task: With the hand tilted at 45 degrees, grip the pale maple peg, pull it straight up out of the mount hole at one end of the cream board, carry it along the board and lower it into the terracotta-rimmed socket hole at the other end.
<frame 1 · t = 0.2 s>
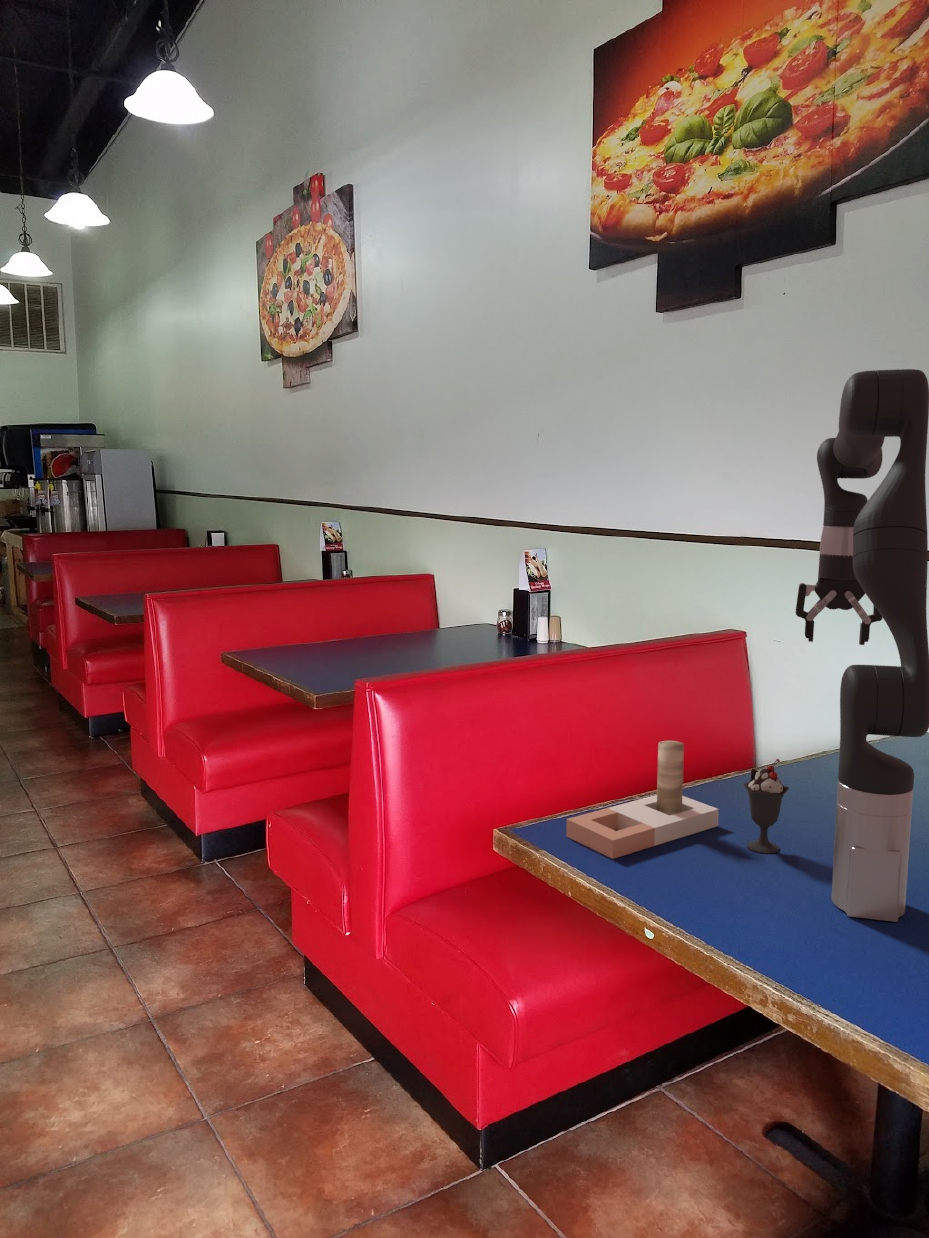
hand: (836, 642, 162), 29 cm above the table, tool pointing down, fingers open, 8 cm apart
peg: (668, 823, 154), resting in dock board
sundae: (763, 848, 143), on the table
dock board: (643, 831, 150), on the table
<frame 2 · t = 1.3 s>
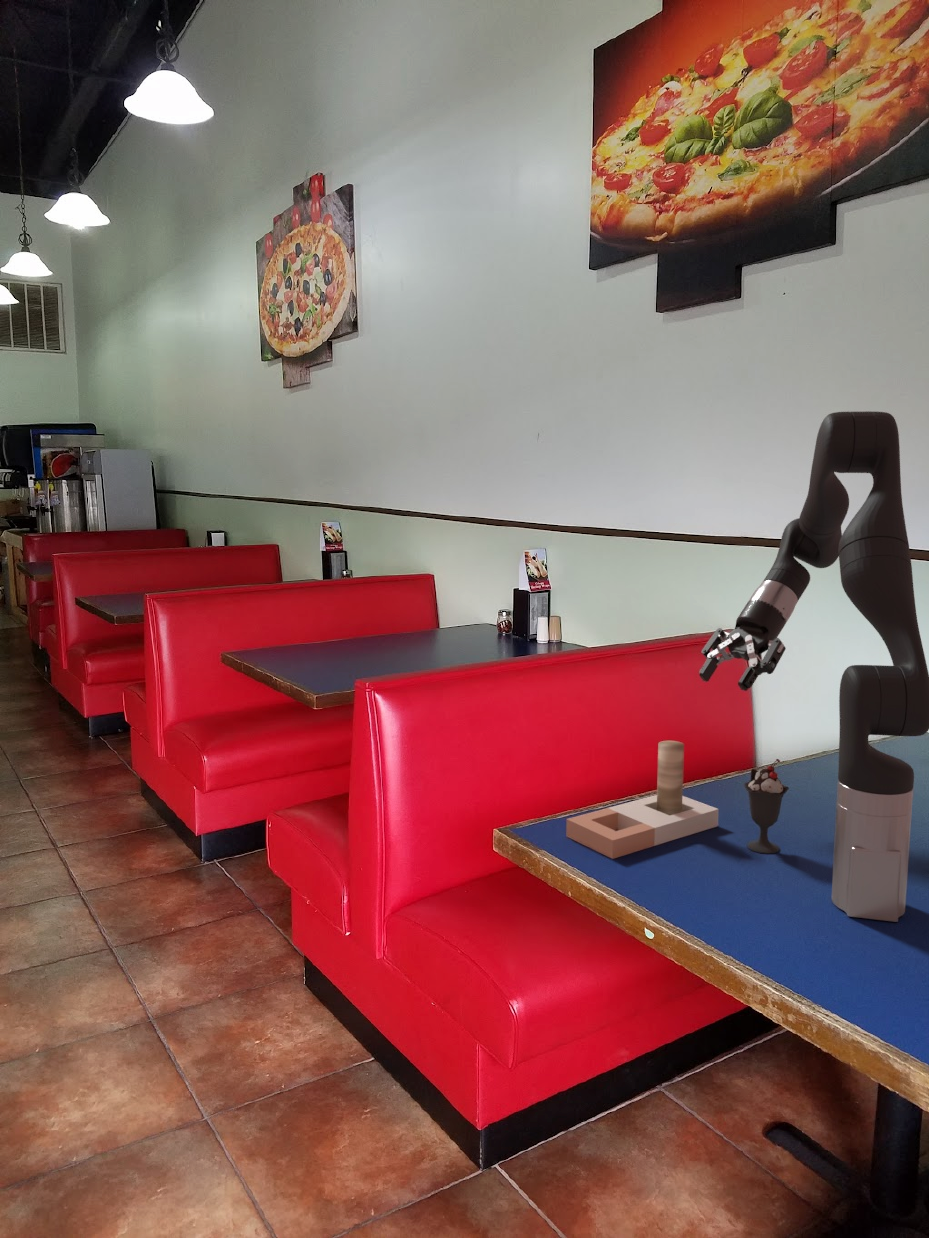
hand: (721, 683, 157), 23 cm above the table, tool tilted 45°, fingers open, 8 cm apart
nothing on the table moved.
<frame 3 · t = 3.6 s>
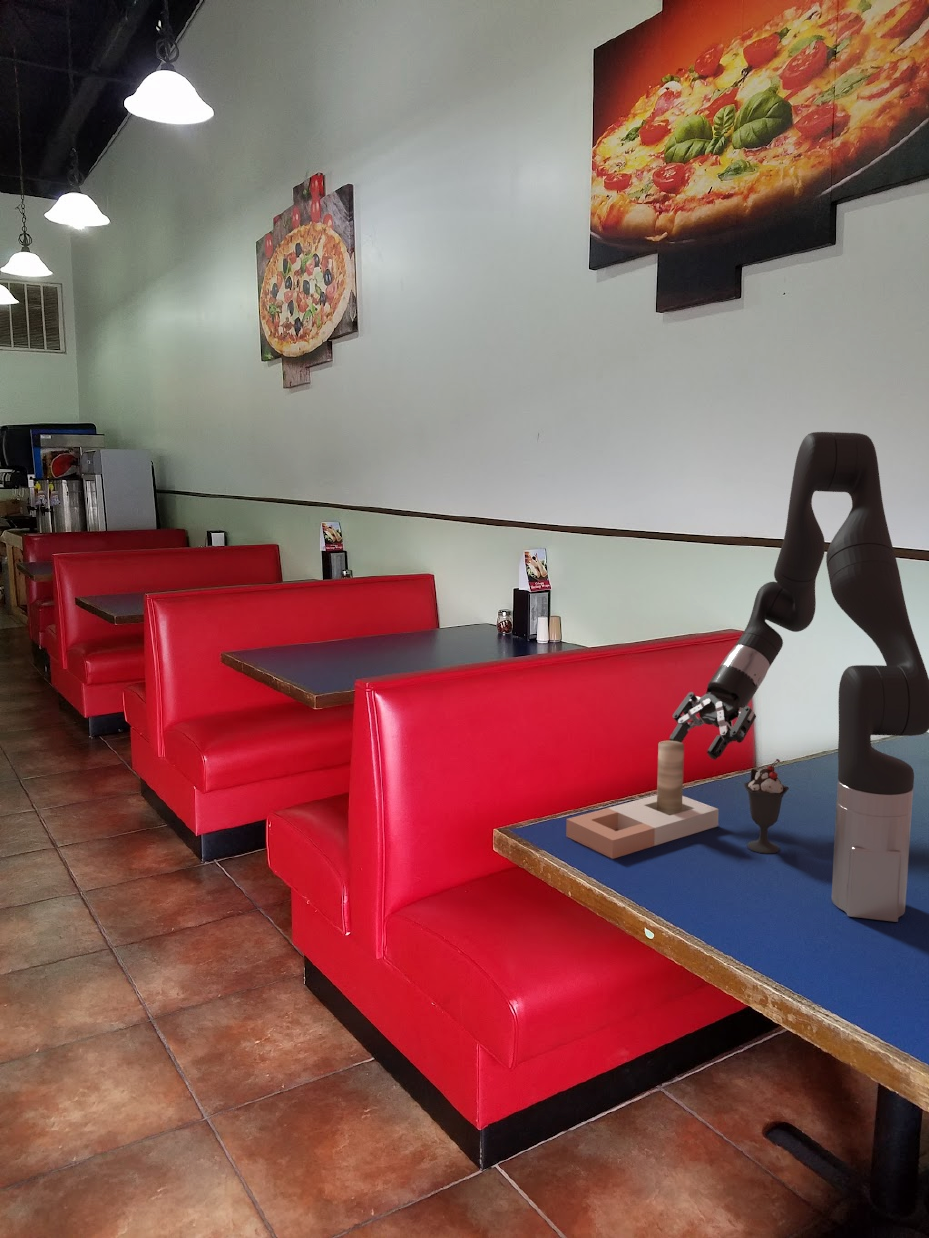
hand: (691, 750, 155), 12 cm above the table, tool tilted 45°, fingers open, 8 cm apart
nothing on the table moved.
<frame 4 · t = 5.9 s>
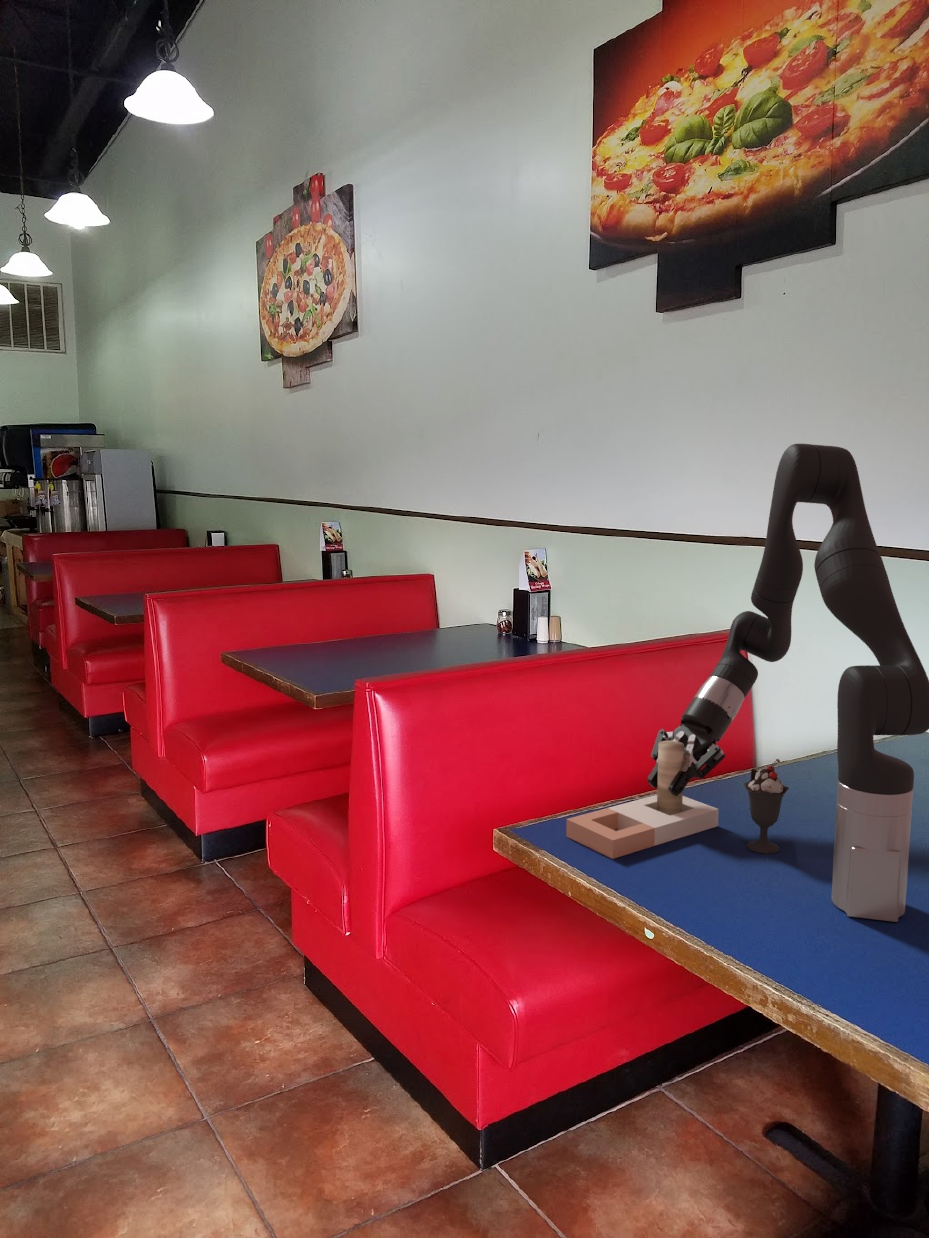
hand: (662, 788, 151), 7 cm above the table, tool tilted 45°, fingers closed on peg, 4 cm apart
peg: (669, 823, 153), resting in dock board, touching gripper
everything else where it was.
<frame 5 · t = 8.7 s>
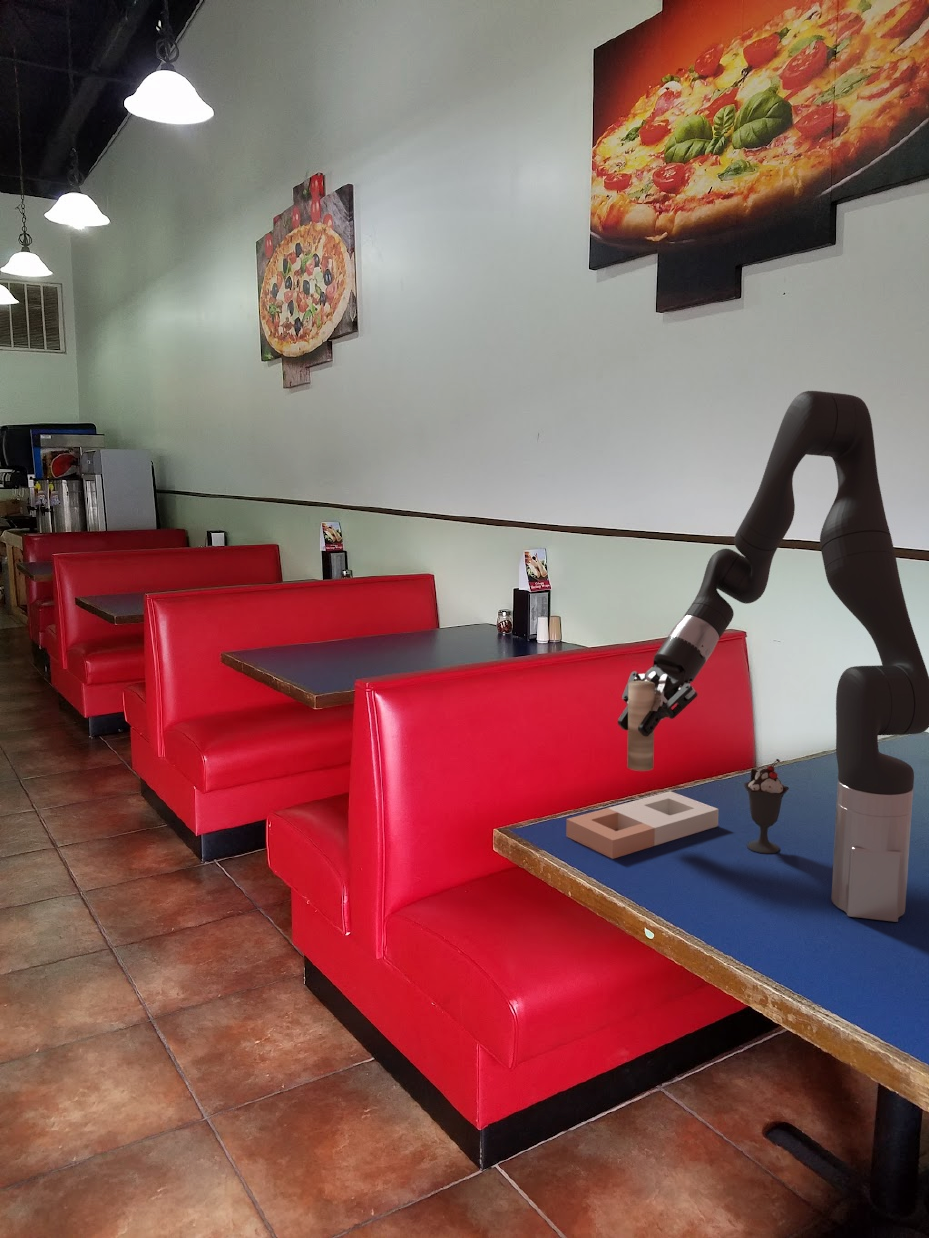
hand: (632, 729, 146), 18 cm above the table, tool tilted 45°, fingers closed on peg, 4 cm apart
peg: (640, 766, 148), point 11 cm above the table, touching gripper
everything else where it was.
when the fingers open (8 cm above the table, at t = 11.9 s): peg drops 1 cm, resting in dock board.
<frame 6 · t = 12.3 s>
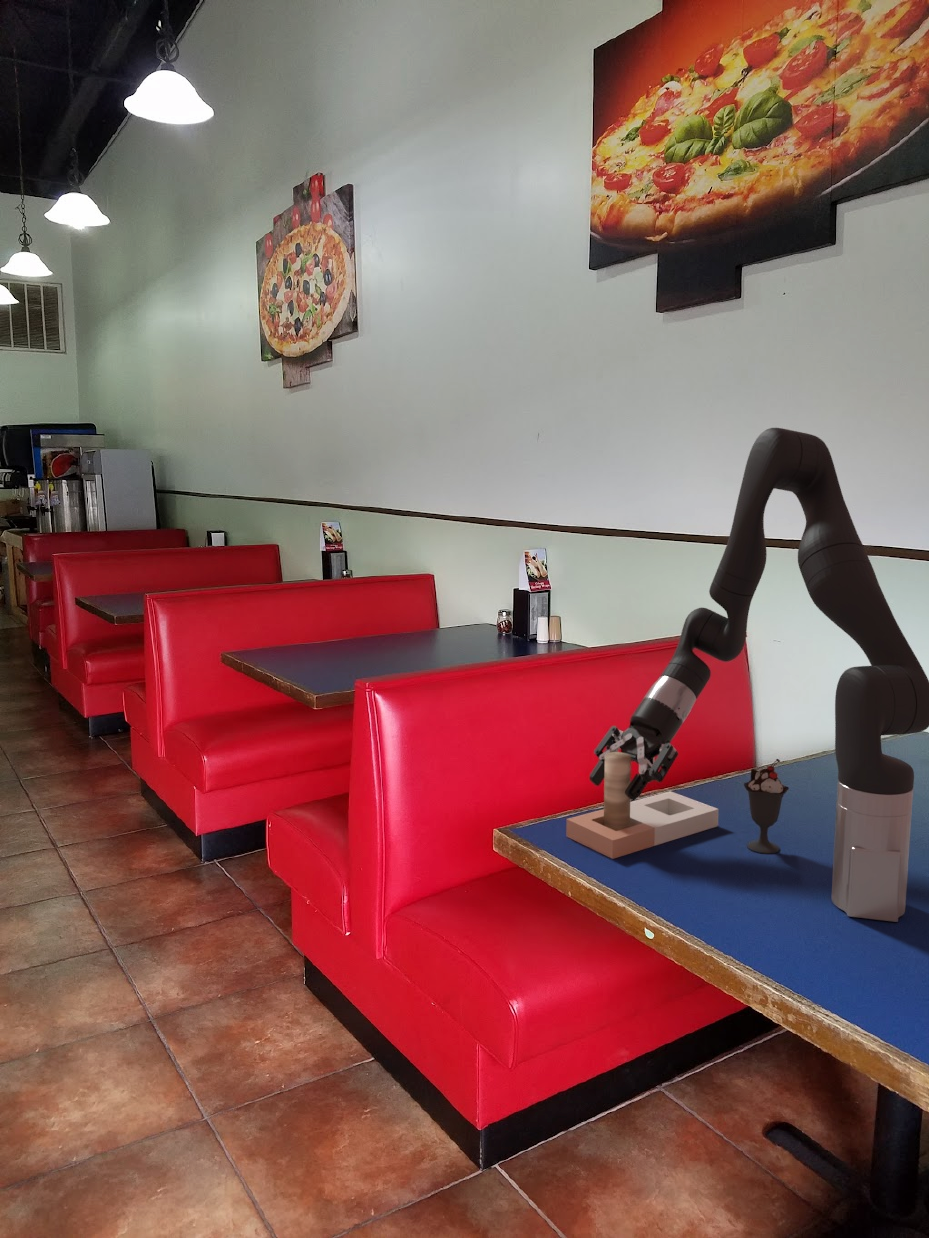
hand: (610, 789, 145), 9 cm above the table, tool tilted 45°, fingers open, 8 cm apart
peg: (616, 838, 147), resting in dock board
everything else where it was.
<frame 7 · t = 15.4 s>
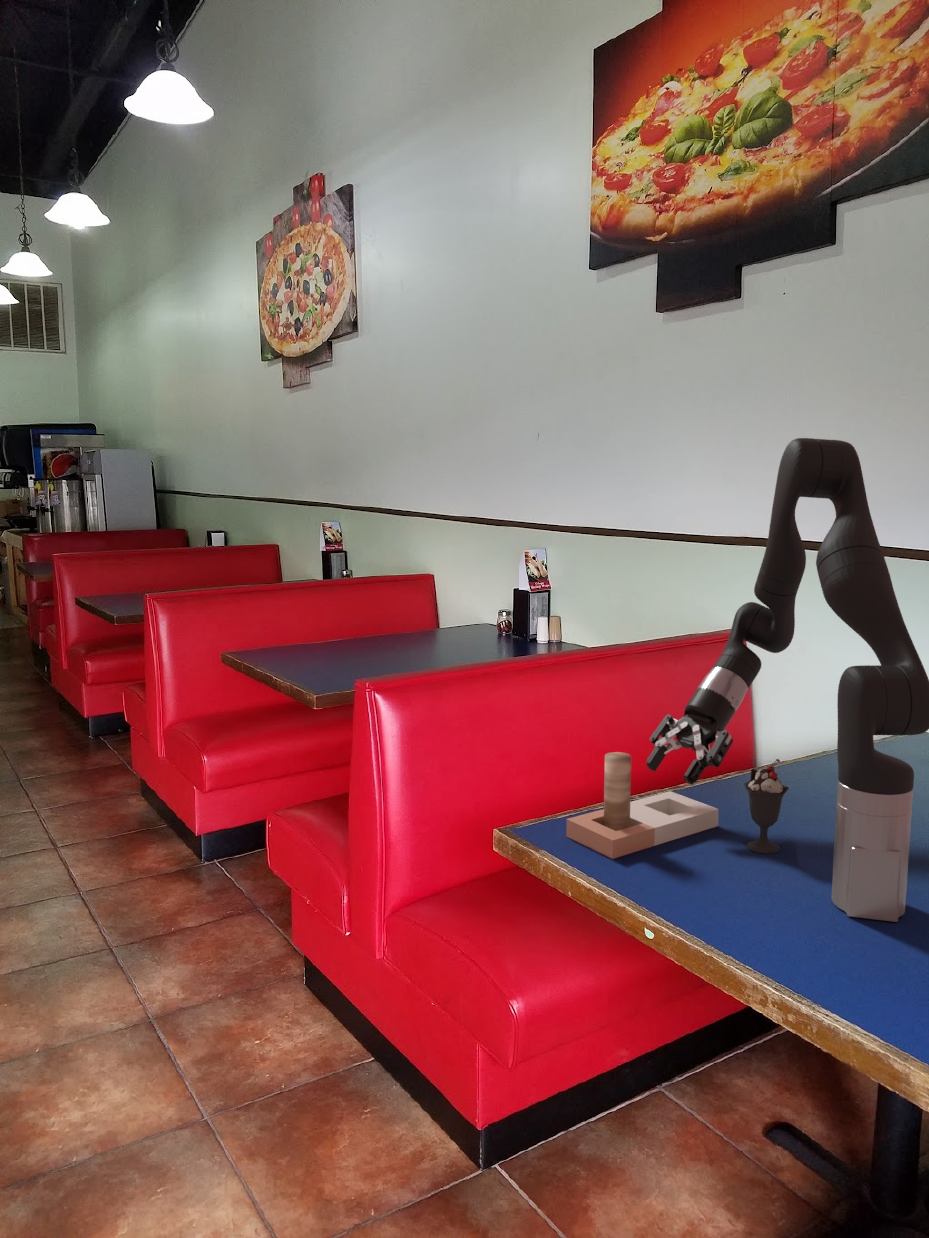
hand: (668, 774, 152), 9 cm above the table, tool tilted 45°, fingers open, 8 cm apart
nothing on the table moved.
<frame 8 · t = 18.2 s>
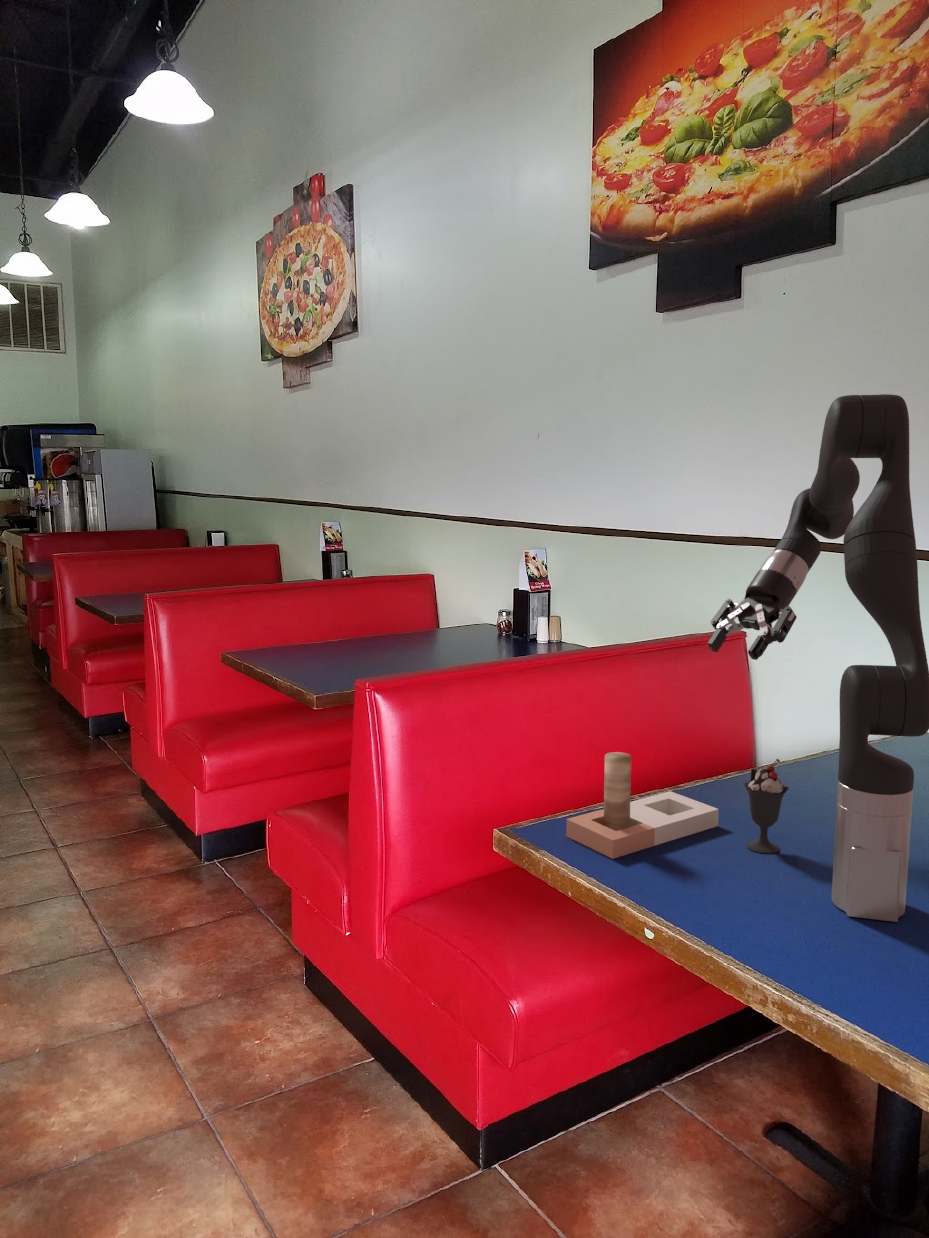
hand: (731, 652, 154), 29 cm above the table, tool tilted 45°, fingers open, 8 cm apart
nothing on the table moved.
at the end: peg 0.1 cm from the target spot on the dock board, point 0.0 cm above the dock board's base; peg tilted 0°; the gripper is holding nothing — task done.
